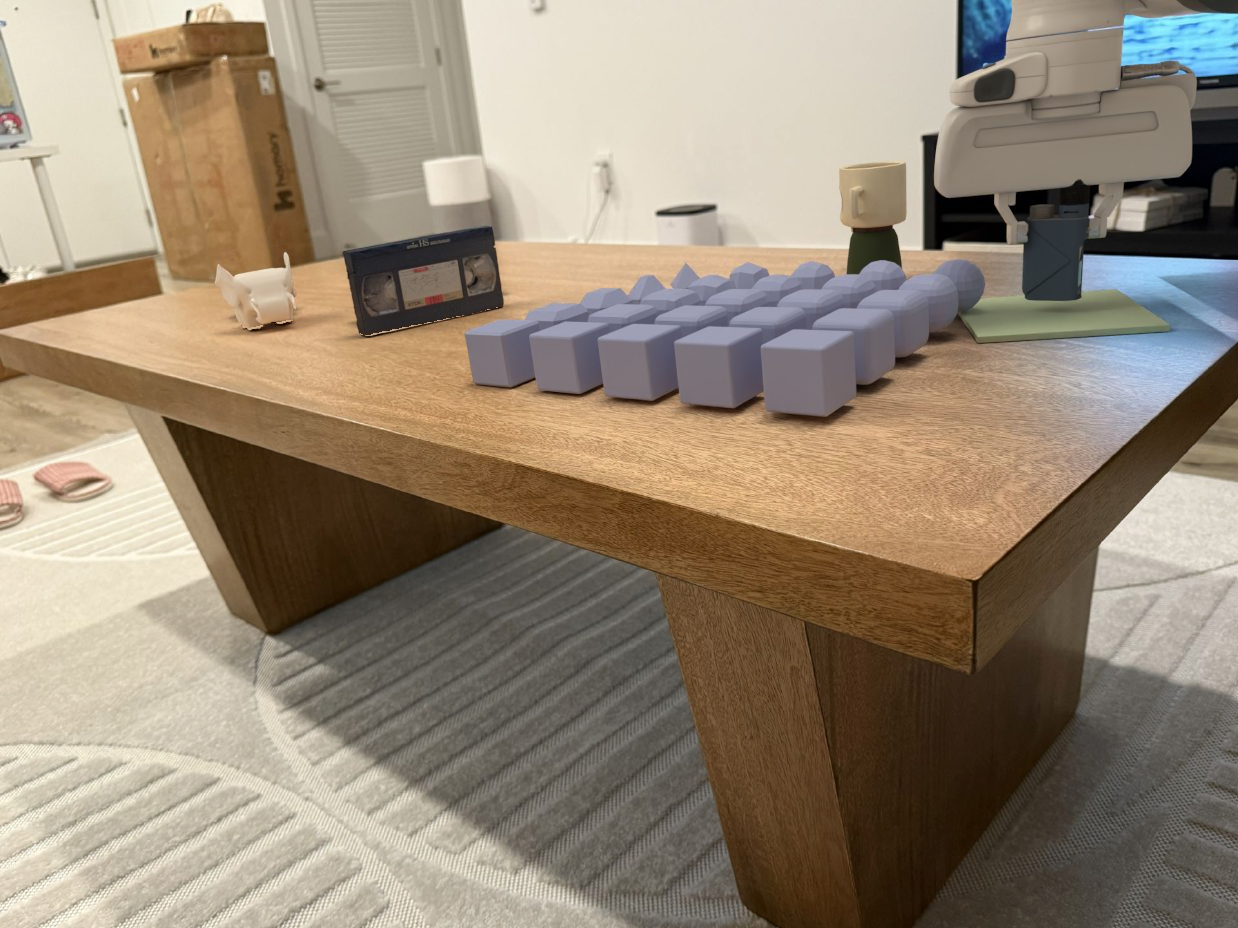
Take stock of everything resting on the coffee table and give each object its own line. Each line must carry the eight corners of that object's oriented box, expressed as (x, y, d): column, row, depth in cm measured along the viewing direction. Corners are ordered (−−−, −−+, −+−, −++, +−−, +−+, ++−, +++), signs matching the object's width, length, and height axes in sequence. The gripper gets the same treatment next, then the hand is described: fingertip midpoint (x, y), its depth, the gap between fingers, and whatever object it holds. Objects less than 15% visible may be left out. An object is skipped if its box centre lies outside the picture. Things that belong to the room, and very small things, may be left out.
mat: (1115, 295, 94) (1116, 288, 94) (1169, 331, 81) (1170, 324, 80) (952, 306, 97) (952, 300, 97) (977, 343, 84) (977, 336, 83)
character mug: (865, 273, 118) (862, 161, 114) (923, 274, 114) (922, 157, 109) (824, 293, 110) (819, 172, 106) (884, 294, 106) (882, 169, 101)
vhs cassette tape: (365, 338, 114) (348, 252, 110) (357, 335, 116) (339, 250, 113) (507, 307, 123) (495, 226, 119) (496, 305, 125) (484, 225, 122)
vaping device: (1081, 302, 86) (1089, 159, 82) (1018, 300, 89) (1022, 163, 85) (1087, 295, 88) (1095, 155, 84) (1025, 294, 91) (1030, 159, 87)
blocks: (471, 384, 89) (462, 331, 87) (684, 301, 114) (679, 258, 112) (827, 418, 68) (823, 348, 66) (992, 306, 93) (992, 254, 91)
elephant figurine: (244, 340, 121) (227, 268, 118) (221, 329, 130) (204, 261, 127) (320, 324, 125) (305, 254, 122) (292, 314, 135) (278, 249, 132)
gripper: (1184, 58, 83) (1171, 225, 88) (931, 86, 87) (931, 245, 92) (1213, 56, 77) (1197, 235, 82) (940, 87, 81) (940, 256, 86)
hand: (1054, 240), depth 87 cm, fingers closed on vaping device, 5 cm apart
